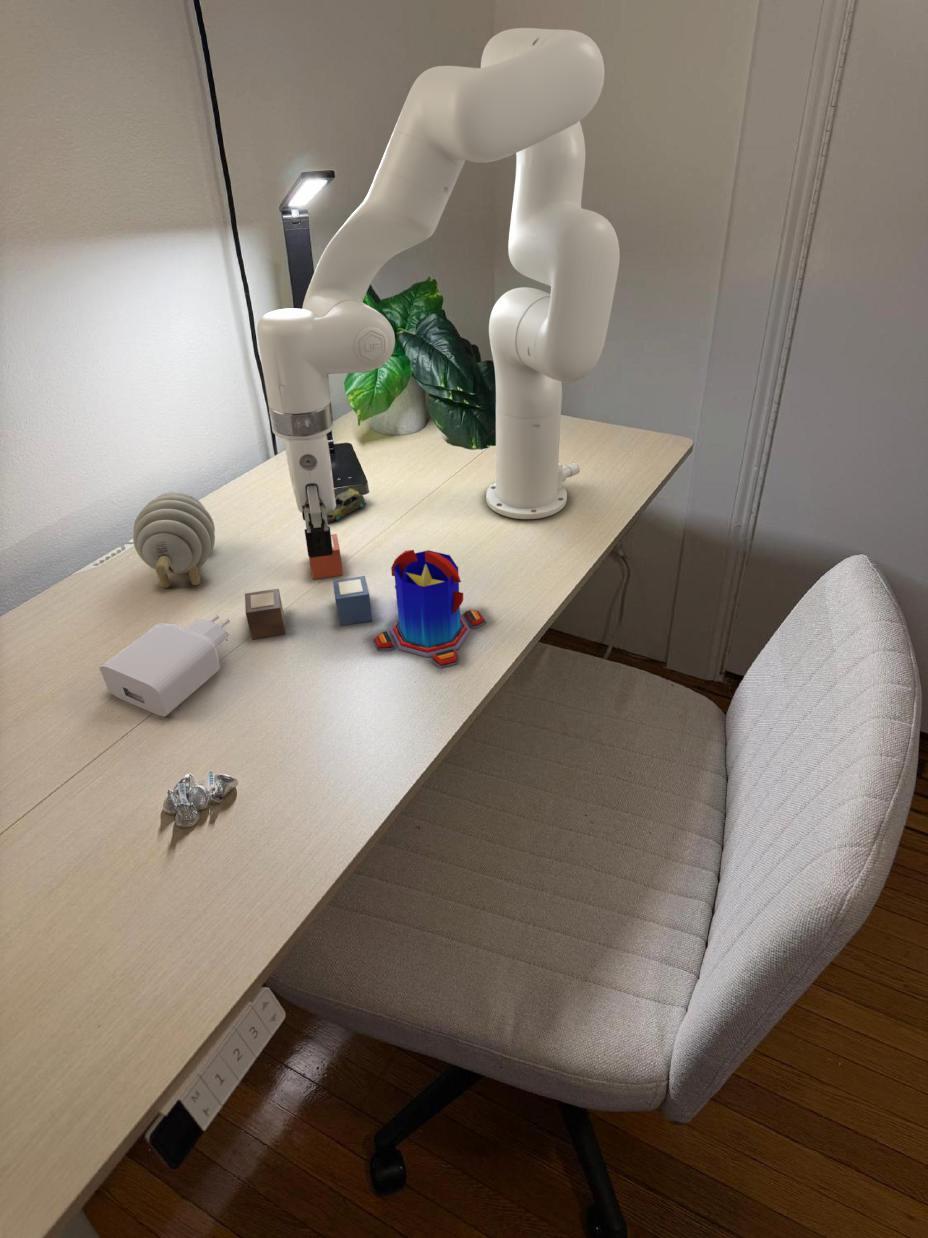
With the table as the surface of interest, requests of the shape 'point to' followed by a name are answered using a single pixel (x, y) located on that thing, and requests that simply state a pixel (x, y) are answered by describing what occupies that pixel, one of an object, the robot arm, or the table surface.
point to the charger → (165, 665)
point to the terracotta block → (327, 562)
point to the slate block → (352, 600)
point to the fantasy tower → (428, 608)
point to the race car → (345, 504)
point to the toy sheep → (174, 536)
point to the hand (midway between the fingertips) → (317, 536)
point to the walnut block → (264, 614)
